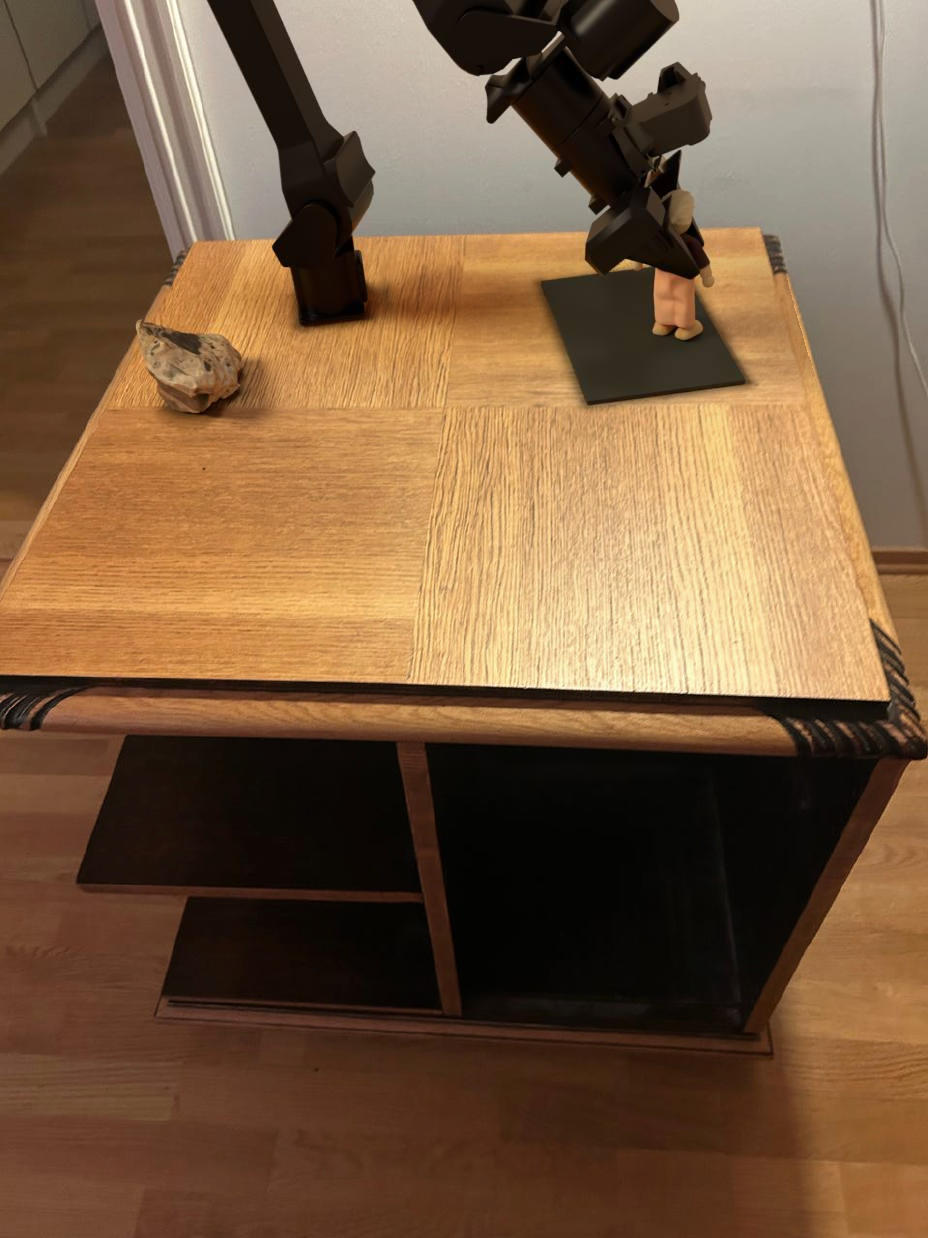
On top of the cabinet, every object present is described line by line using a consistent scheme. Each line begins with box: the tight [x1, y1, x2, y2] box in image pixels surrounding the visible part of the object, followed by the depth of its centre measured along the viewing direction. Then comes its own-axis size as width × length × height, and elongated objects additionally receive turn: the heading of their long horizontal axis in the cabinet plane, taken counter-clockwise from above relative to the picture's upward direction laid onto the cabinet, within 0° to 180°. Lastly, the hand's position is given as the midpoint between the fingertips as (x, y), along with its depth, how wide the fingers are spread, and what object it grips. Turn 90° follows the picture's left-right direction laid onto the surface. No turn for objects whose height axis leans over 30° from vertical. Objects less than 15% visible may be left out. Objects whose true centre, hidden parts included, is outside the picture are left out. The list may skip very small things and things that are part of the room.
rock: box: [135, 319, 245, 414], centre depth 81 cm, size 9×7×10 cm
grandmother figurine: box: [630, 188, 715, 340], centre depth 80 cm, size 8×4×13 cm, turn 67°
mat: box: [540, 266, 746, 406], centre depth 86 cm, size 14×20×1 cm
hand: (698, 261), depth 79 cm, fingers open, 4 cm apart
